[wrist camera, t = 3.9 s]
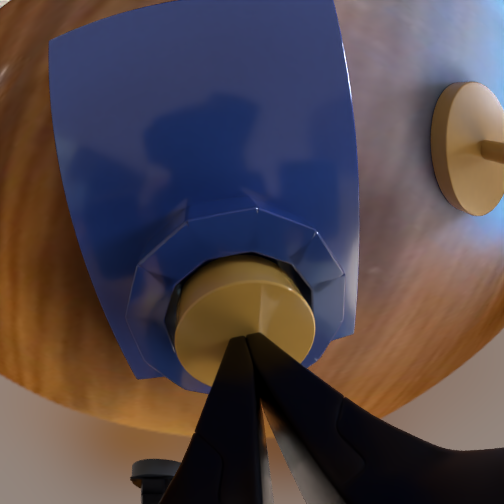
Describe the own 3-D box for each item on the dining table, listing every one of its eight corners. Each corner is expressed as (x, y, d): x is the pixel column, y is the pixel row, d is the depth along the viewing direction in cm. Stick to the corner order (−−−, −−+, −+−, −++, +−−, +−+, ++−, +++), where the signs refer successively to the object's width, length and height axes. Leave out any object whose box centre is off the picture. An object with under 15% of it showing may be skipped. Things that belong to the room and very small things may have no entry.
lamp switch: (299, 342, 10) (315, 374, 9) (193, 364, 10) (195, 400, 8) (293, 242, 9) (314, 266, 7) (161, 267, 8) (155, 297, 7)
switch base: (335, 309, 14) (373, 358, 11) (142, 349, 13) (132, 411, 9) (311, 17, 9) (357, -21, 5) (71, 54, 7) (23, 26, 4)
